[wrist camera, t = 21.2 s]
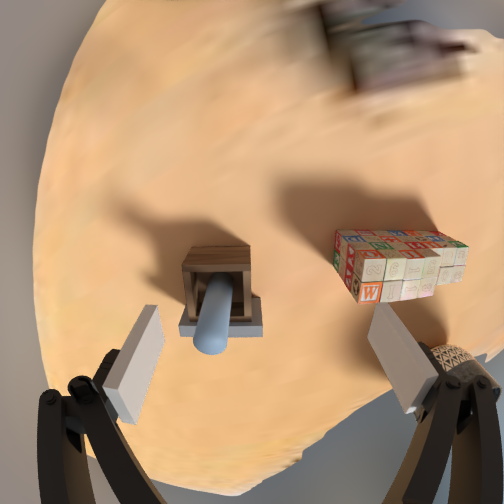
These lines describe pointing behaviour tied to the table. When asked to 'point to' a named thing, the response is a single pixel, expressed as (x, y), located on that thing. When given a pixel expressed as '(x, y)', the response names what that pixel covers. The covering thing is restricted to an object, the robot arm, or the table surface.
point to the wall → (234, 327)
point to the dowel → (214, 315)
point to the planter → (460, 368)
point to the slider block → (218, 260)
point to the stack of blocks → (397, 263)
